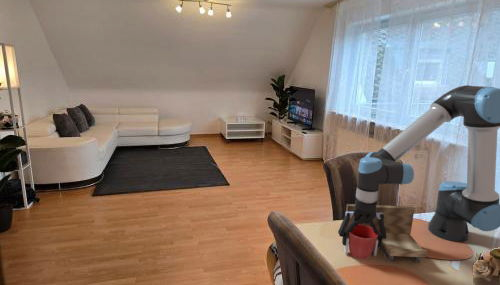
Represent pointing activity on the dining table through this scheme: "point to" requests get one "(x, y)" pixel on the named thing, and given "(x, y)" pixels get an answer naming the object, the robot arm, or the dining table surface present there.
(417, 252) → the small wooden stand
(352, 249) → the flower pot
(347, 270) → the dining table surface
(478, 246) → the dining table surface
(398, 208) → the wooden board
